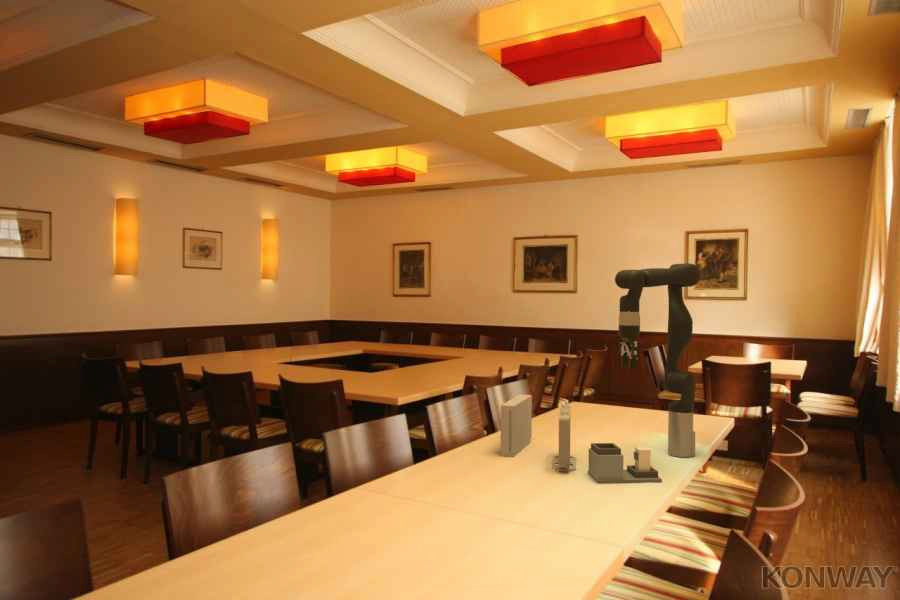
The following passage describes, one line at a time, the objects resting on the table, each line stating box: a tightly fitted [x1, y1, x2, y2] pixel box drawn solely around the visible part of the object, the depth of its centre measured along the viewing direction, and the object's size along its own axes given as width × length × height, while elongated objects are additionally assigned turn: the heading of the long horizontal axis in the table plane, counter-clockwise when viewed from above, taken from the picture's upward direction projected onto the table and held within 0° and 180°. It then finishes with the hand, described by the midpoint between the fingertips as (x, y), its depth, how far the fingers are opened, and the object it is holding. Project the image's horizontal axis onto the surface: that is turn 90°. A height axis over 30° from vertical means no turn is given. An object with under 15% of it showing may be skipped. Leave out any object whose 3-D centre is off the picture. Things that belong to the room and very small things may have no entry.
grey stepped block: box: [587, 442, 663, 484], centre depth 215 cm, size 22×12×11 cm, turn 94°
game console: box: [500, 393, 533, 458], centre depth 254 cm, size 6×27×20 cm, turn 158°
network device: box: [550, 404, 577, 472], centre depth 232 cm, size 26×9×20 cm, turn 168°
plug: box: [633, 446, 652, 471], centre depth 215 cm, size 5×4×9 cm
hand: (628, 368), depth 229 cm, fingers open, 8 cm apart
